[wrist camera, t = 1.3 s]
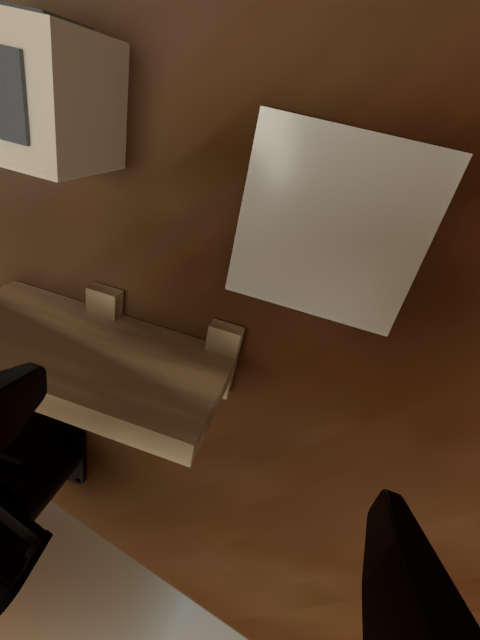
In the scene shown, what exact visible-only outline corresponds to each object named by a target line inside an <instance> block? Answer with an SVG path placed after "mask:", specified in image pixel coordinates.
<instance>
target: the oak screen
mask: <svg viewBox="0 0 480 640" xmlns="http://www.w3.org/2000/svg"><path fill="white" fill-rule="evenodd" d="M123 297H124V291H123V290H120V289H117V288H114V287H110V286H107V285H104V284H100V283H97V282H94V283H92V284H91V285H89V286H88V287H86V303H85V302H82V301H78V300H75V299H72V298H69V297H66V296H63V295H59V294H56V293H53V292H50V291H47V290H44V289H40V288H37V287H34V286H31V285H28V284H24V283H21V282H18V281H13V282H11V283H9V284H7V285H4V286H2V287H0V371H2V370H5V369H8V368H11V367H15V366H18V365H21V364H25V363H29V362H32V363H35V364H38V365H41V366H43V367H45V369H46V374H47V394H46V396H45V398H44V400H43V401H42V402H41V404H40V405H39V406H38V408H37V409H36V410H35V412H37V413H40V414H43V415H46V416H48V417H51V418H54V419H57V420H59V421H62V422H65V423H68V424H71V425H73V426H76V427H79V428H82V429H84V430H87V431H90V432H93V433H95V434H98V435H101V436H104V437H106V438H109V439H112V440H115V441H118V442H120V443H123V444H126V445H129V446H131V447H134V448H137V449H140V450H142V451H145V452H148V453H151V454H153V455H156V456H159V457H162V458H165V459H167V460H170V461H173V462H176V463H178V464H181V465H184V466H187V467H189V468H190V467H191V465H192V462H193V460H194V458H195V456H196V454H197V452H198V449H199V447H200V445H201V443H202V441H203V439H204V436H205V434H206V432H207V430H208V428H209V426H210V423H211V421H212V419H213V417H214V415H215V413H216V410H217V408H218V406H219V404H220V402H221V400H222V399H225V400H226V399H227V397H228V395H229V392H230V390H231V385H232V381H233V377H234V373H235V369H236V364H237V360H238V356H239V352H240V348H241V343H242V339H243V335H244V331H245V328H244V327H241V326H238V325H234V324H231V323H228V322H225V321H221V320H218V319H215V318H214V319H213V320H212V322H211V323H210V325H209V326H208V332H207V337H206V341H205V340H202V339H199V338H196V337H193V336H190V335H186V334H183V333H180V332H177V331H174V330H171V329H167V328H164V327H161V326H158V325H155V324H151V323H148V322H145V321H142V320H139V319H136V318H132V317H129V316H126V315H123Z"/></svg>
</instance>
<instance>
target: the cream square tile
mask: <svg viewBox="0 0 480 640" xmlns="http://www.w3.org/2000/svg"><path fill="white" fill-rule="evenodd" d="M472 155H473V154H471V153H467V152H462V151H458V150H454V149H449V148H445V147H441V146H436V145H432V144H427V143H423V142H419V141H414V140H410V139H405V138H401V137H397V136H392V135H388V134H384V133H379V132H375V131H370V130H366V129H362V128H357V127H353V126H348V125H344V124H340V123H335V122H331V121H327V120H322V119H318V118H313V117H309V116H305V115H300V114H296V113H291V112H287V111H283V110H278V109H274V108H269V107H265V106H260V111H259V116H258V121H257V126H256V132H255V137H254V142H253V147H252V152H251V157H250V163H249V168H248V173H247V178H246V183H245V188H244V194H243V199H242V204H241V209H240V214H239V219H238V224H237V230H236V235H235V240H234V245H233V250H232V255H231V261H230V266H229V271H228V276H227V281H226V286H225V289H227V290H230V291H233V292H237V293H240V294H244V295H247V296H250V297H254V298H257V299H261V300H264V301H267V302H271V303H274V304H278V305H281V306H284V307H288V308H291V309H294V310H298V311H301V312H305V313H308V314H311V315H315V316H318V317H322V318H325V319H328V320H332V321H335V322H339V323H342V324H345V325H349V326H352V327H356V328H359V329H362V330H366V331H369V332H372V333H376V334H379V335H383V336H386V337H387V336H388V334H389V332H390V330H391V327H392V325H393V323H394V321H395V319H396V317H397V315H398V313H399V310H400V308H401V306H402V304H403V302H404V300H405V298H406V296H407V293H408V291H409V289H410V287H411V285H412V283H413V281H414V278H415V276H416V274H417V272H418V270H419V268H420V266H421V264H422V261H423V259H424V257H425V255H426V253H427V251H428V249H429V247H430V244H431V242H432V240H433V238H434V236H435V234H436V232H437V229H438V227H439V225H440V223H441V221H442V219H443V217H444V215H445V212H446V210H447V208H448V206H449V204H450V202H451V200H452V197H453V195H454V193H455V191H456V189H457V187H458V185H459V183H460V180H461V178H462V176H463V174H464V172H465V170H466V168H467V166H468V163H469V161H470V159H471V157H472Z"/></svg>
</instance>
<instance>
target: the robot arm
mask: <svg viewBox="0 0 480 640" xmlns="http://www.w3.org/2000/svg"><path fill="white" fill-rule="evenodd" d="M46 394H47V374H46V369H45V367H43V366H41V365H38V364H35V363H32V362H29V363H25V364H21V365H18V366H15V367H11V368H8V369H5V370H2V371H0V615H1V614H2V613H3V612H4V611H5V609H6V608H7V607H8V606H9V604H10V603H11V602H12V601H13V599H14V598H15V596H16V595H17V594H18V592H19V591H20V589H21V588H22V586H23V584H24V583H25V581H26V579H27V577H28V576H29V574H30V573H31V571H32V569H33V568H34V566H35V564H36V563H37V561H38V559H39V557H40V556H41V554H42V552H43V550H44V549H45V547H46V545H47V544H48V542H49V541H50V539H51V537H52V535H53V534H52V533H51V532H49V531H48V530H45V529H43V528H42V527H41V526H40V525H38V524H37V523H36V522H35V520H36V518H37V517H38V516H39V515H40V513H41V512H42V511H43V510H44V508H45V507H46V506H47V505H48V503H49V502H50V501H51V499H52V498H53V497H54V496H55V494H56V493H57V492H58V491H59V489H60V488H61V487H62V486H63V484H64V483H65V482H66V480H70V481H72V482H75V483H77V484H83V483H84V482H85V480H86V446H85V434H84V432H83V431H81V430H79V429H76V428H74V427H71V426H68V425H65V424H63V423H60V422H57V421H54V420H52V419H49V418H46V417H43V416H41V415H38V414H35V413H34V412H35V410H36V409H37V408H38V406H39V405H40V404H41V402H42V401H43V400H44V398H45V396H46ZM362 622H363V640H480V627H479V625H478V623H477V622H476V620H475V618H474V617H473V615H472V613H471V612H470V610H469V608H468V606H467V605H466V603H465V601H464V600H463V598H462V596H461V595H460V593H459V591H458V590H457V588H456V586H455V585H454V583H453V581H452V579H451V578H450V576H449V574H448V573H447V571H446V569H445V568H444V566H443V564H442V563H441V561H440V559H439V557H438V556H437V554H436V552H435V551H434V549H433V547H432V546H431V544H430V542H429V541H428V539H427V537H426V536H425V534H424V532H423V530H422V529H421V527H420V525H419V524H418V522H417V520H416V519H415V517H414V515H413V514H412V512H411V510H410V508H409V507H408V505H407V503H406V502H405V500H404V498H403V497H402V496H401V495H400V494H398V493H395V492H392V491H389V490H387V489H384V490H382V491H381V492H380V494H379V495H378V497H377V498H376V500H375V501H374V503H373V504H372V506H371V508H370V509H369V512H368V516H367V526H366V538H365V550H364V562H363V574H362Z"/></svg>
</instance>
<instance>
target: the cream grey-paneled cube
mask: <svg viewBox="0 0 480 640" xmlns="http://www.w3.org/2000/svg"><path fill="white" fill-rule="evenodd" d="M129 55H130V44H129V43H127V42H124V41H121V40H118V39H115V38H113V37H110V36H107V35H104V34H101V33H99V32H96V31H94V28H91V27H88V26H86V25H83V24H80V23H77V22H75V21H72V20H69V19H66V18H64V17H61V16H58V15H55V14H53V13H50V12H47V11H45V10H41V9H36V8H32V7H27V6H22V5H17V4H13V3H8V2H3V1H0V167H2V168H6V169H9V170H13V171H17V172H20V173H24V174H28V175H31V176H35V177H39V178H42V179H46V180H50V181H53V182H57V183H59V182H64V181H69V180H73V179H78V178H83V177H88V176H92V175H97V174H102V173H107V172H112V171H116V170H121V169H125V159H126V133H127V107H128V81H129Z"/></svg>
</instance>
